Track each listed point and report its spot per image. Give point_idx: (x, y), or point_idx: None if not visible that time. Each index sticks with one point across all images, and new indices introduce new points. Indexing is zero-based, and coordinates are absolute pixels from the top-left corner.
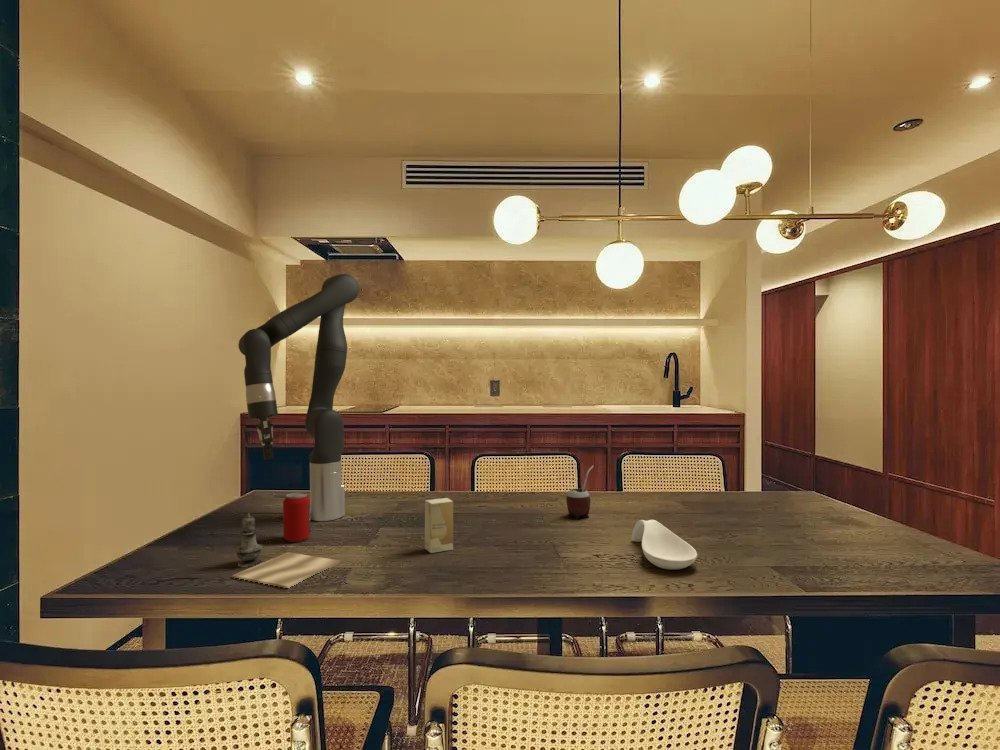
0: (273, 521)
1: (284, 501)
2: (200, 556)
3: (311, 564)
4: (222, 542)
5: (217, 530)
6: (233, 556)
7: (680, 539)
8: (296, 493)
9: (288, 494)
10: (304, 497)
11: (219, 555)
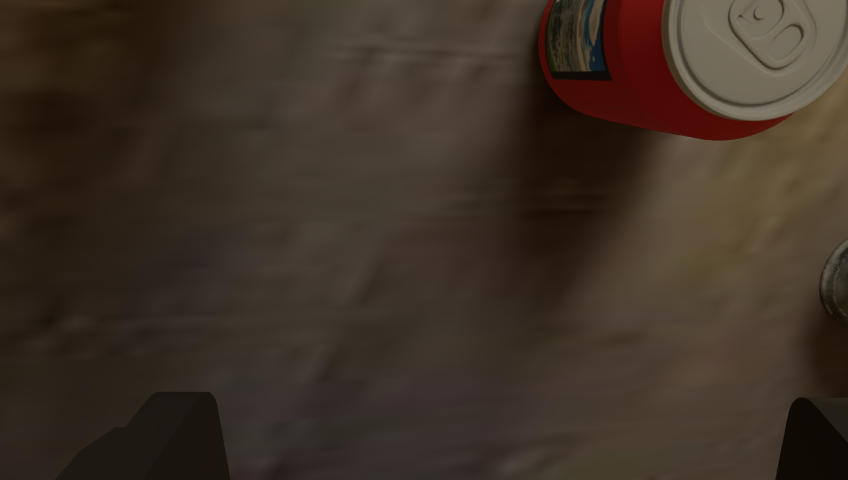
0: (115, 169)
1: (756, 130)
2: (642, 476)
3: None
4: (461, 413)
5: None
6: (724, 348)
7: None
8: (673, 11)
9: (698, 93)
10: None
11: (673, 405)
